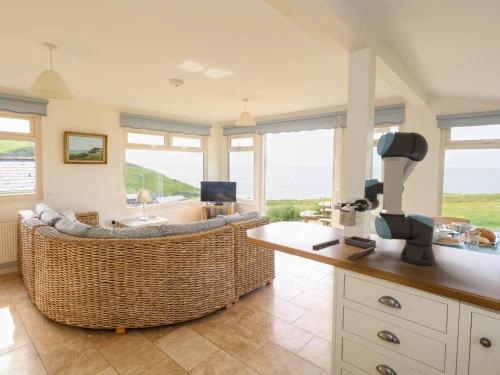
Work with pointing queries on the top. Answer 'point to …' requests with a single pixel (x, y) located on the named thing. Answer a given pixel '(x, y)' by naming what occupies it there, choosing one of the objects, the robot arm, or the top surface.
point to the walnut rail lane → (349, 255)
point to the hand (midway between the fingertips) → (342, 208)
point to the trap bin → (360, 242)
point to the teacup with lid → (347, 216)
